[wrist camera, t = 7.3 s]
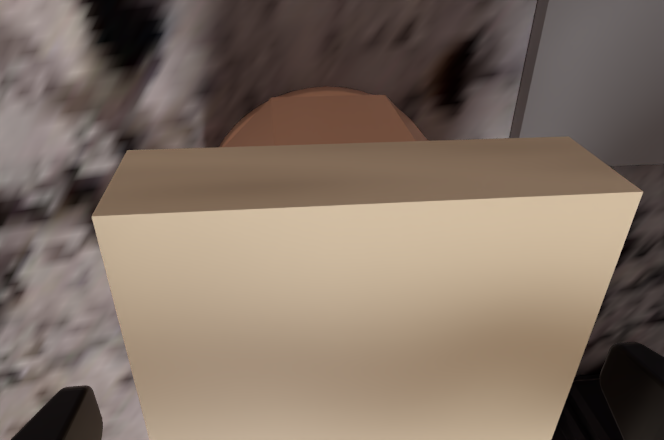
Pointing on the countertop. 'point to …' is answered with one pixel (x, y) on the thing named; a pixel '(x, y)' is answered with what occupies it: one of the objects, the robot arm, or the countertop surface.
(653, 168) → the countertop surface
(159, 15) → the countertop surface
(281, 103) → the bowl
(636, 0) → the mat
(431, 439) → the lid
